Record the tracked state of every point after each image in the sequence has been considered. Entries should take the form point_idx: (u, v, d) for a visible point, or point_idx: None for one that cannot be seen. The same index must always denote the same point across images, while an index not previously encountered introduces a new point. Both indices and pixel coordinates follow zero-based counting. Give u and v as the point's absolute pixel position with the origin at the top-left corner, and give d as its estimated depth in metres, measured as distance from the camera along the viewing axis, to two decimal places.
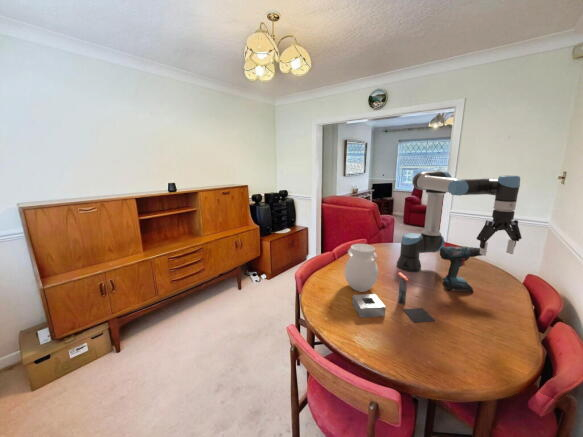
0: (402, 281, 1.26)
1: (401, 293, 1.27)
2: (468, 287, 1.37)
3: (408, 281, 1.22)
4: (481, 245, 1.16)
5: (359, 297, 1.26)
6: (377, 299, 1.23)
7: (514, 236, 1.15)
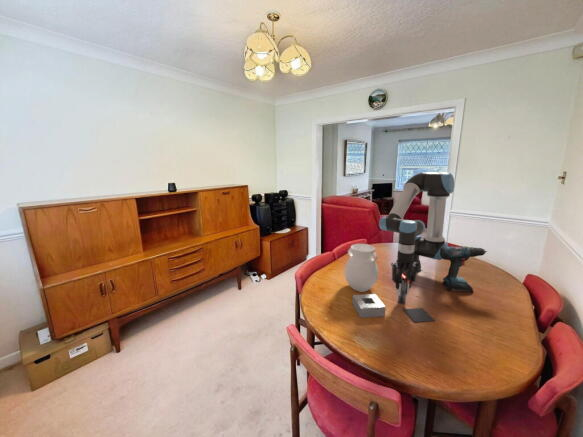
0: (402, 281, 1.26)
1: (401, 293, 1.27)
2: (468, 287, 1.37)
3: (408, 281, 1.22)
4: (396, 286, 1.27)
5: (359, 297, 1.26)
6: (377, 299, 1.23)
7: (409, 278, 1.26)
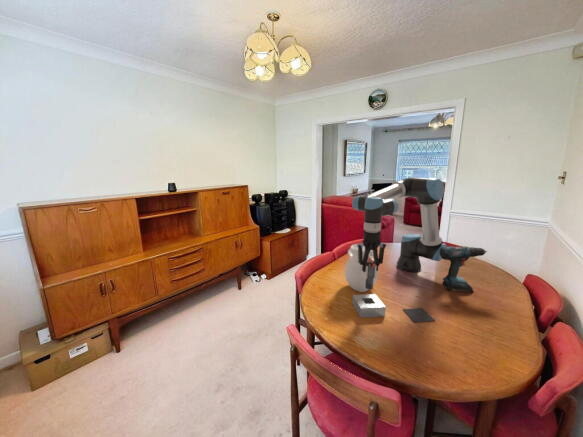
0: (368, 265, 1.17)
1: (368, 278, 1.18)
2: (468, 287, 1.37)
3: (374, 264, 1.13)
4: (362, 268, 1.18)
5: (359, 297, 1.26)
6: (377, 299, 1.23)
7: (377, 260, 1.17)
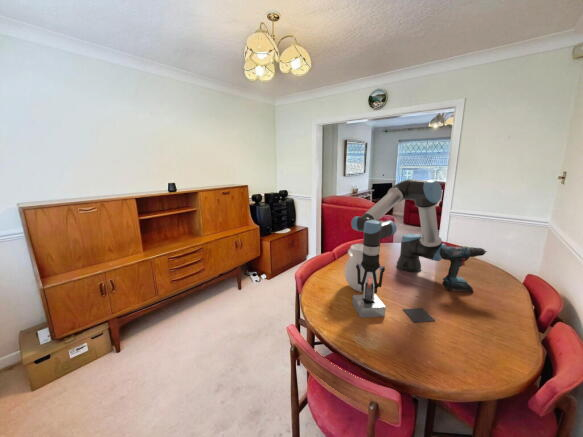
0: (366, 286, 1.20)
1: (366, 298, 1.21)
2: (468, 287, 1.37)
3: (369, 286, 1.16)
4: (361, 288, 1.22)
5: (359, 297, 1.26)
6: (377, 299, 1.23)
7: (375, 282, 1.18)
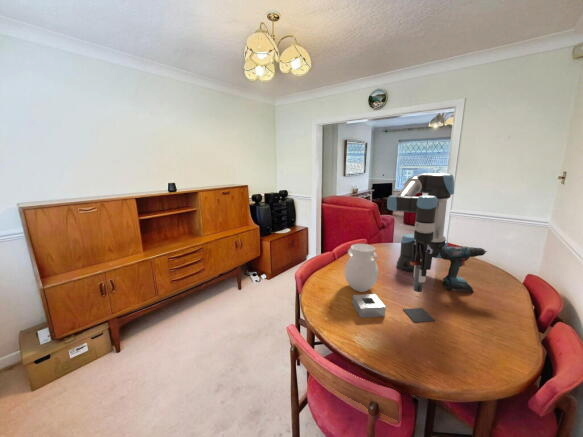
0: None
1: None
2: (468, 287, 1.37)
3: (411, 263, 1.12)
4: None
5: (359, 297, 1.26)
6: (377, 299, 1.23)
7: (421, 263, 1.10)
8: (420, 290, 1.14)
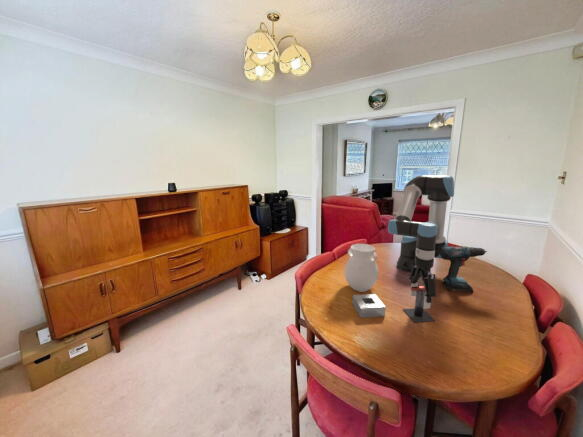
0: None
1: None
2: (468, 287, 1.37)
3: (411, 288, 1.15)
4: None
5: (359, 297, 1.26)
6: (377, 299, 1.23)
7: (425, 290, 1.10)
8: (421, 315, 1.17)
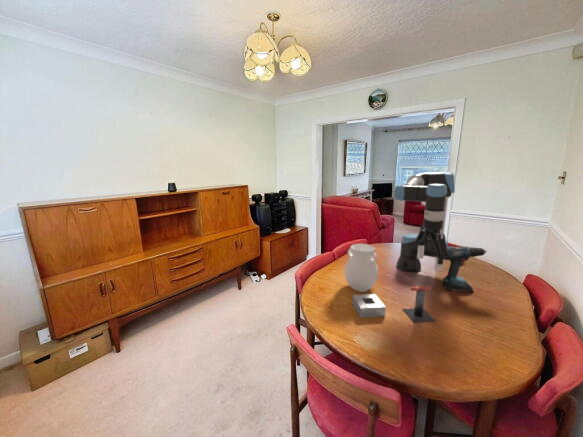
0: None
1: None
2: (468, 287, 1.37)
3: (411, 288, 1.15)
4: None
5: (359, 297, 1.26)
6: (377, 299, 1.23)
7: (436, 251, 1.06)
8: (421, 315, 1.17)
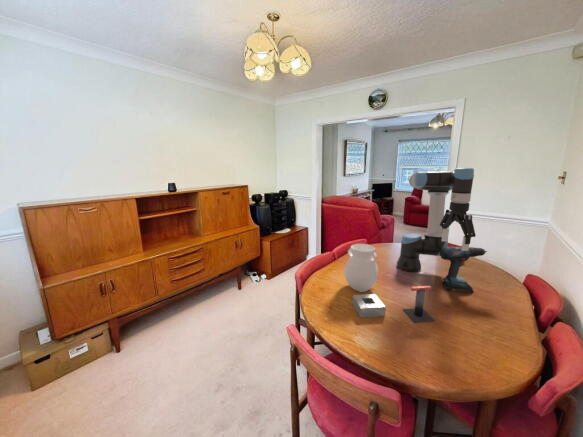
0: None
1: None
2: (468, 287, 1.37)
3: (411, 288, 1.15)
4: None
5: (359, 297, 1.26)
6: (377, 299, 1.23)
7: (464, 231, 1.11)
8: (421, 315, 1.17)
